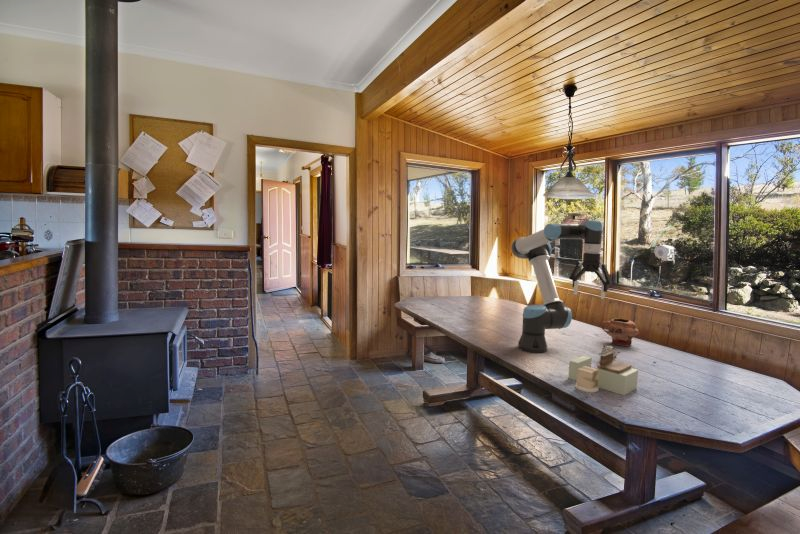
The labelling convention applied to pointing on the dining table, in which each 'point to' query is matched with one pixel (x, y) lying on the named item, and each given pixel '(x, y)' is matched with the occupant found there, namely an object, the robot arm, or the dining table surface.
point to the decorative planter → (621, 331)
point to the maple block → (587, 377)
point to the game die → (609, 349)
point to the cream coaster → (587, 389)
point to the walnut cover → (612, 363)
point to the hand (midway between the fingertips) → (588, 296)
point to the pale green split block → (607, 376)
